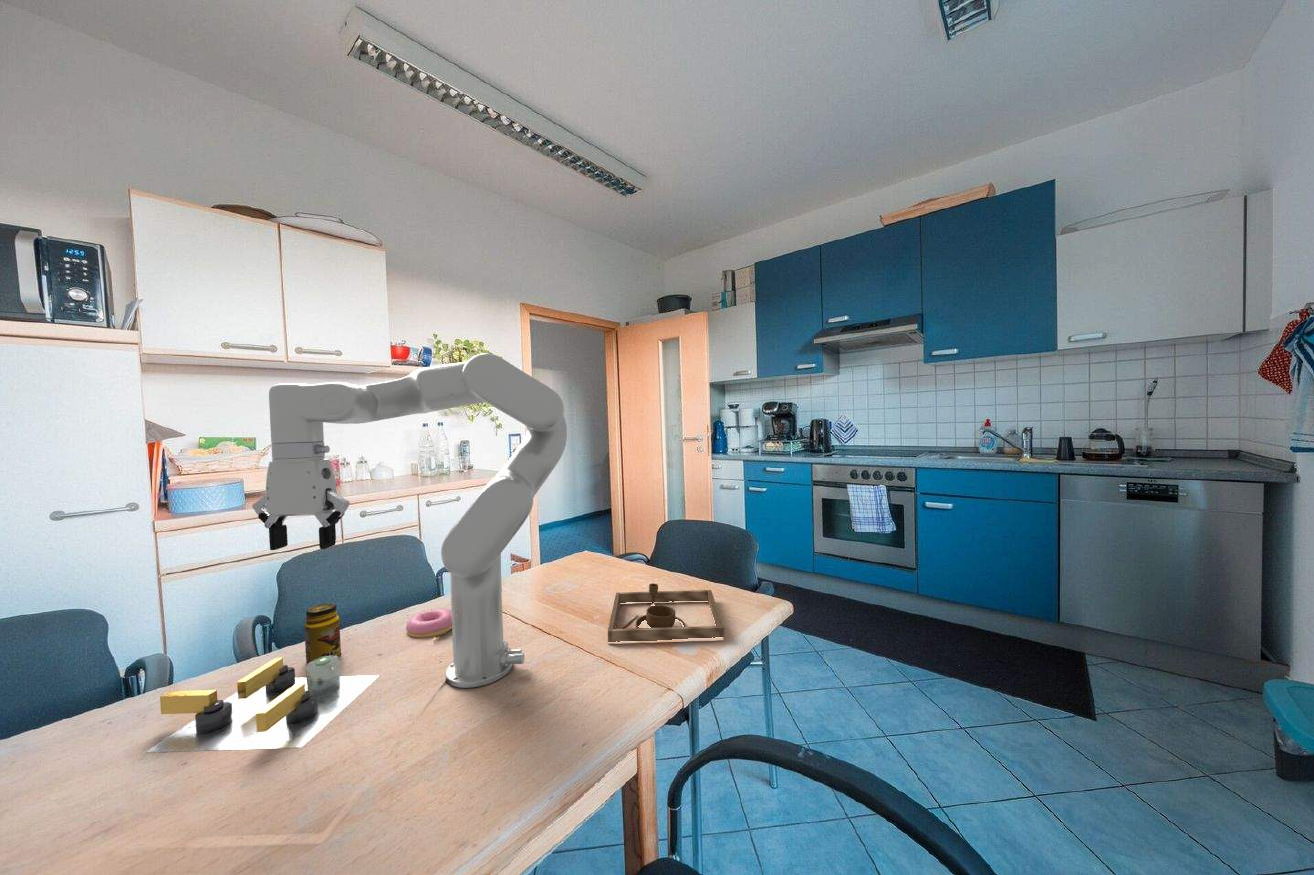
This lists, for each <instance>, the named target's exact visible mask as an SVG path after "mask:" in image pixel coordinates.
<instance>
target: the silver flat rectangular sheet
mask: <svg viewBox="0 0 1314 875" xmlns="http://www.w3.org/2000/svg"><path fill="white" fill-rule="evenodd" d="M305 670H306V676H305V677H295V683H294V684H293V685H292V686H294V685H295V684H296V683H305V691H310V693H316V694H317V695H318V711H317V712H316V713H315V714H314V715H313V716H311V717H309V718H307V719H305V720H302V721H299V722H293V723H290V722H287V721H286V716H285V717H284V718H283V719H282V720H280V721H279V722H278V723H277V724H275V725H274V726H273V727H272V728H270V729H269V730H268V731H267V732H257V726H256V713H257V712H258V711H259V710H261V709H262V708H264V707H265V706H266V705H268V704H269V703H270V702H272V701H273V700H274V699H276V698H277V697H279V696H280V695H281V694H283V693H284V692H285V691H287V690H288V689H289V688H291V687H292V686H290V687H289V688H287V689H284V690H281V691H278V692H271V693H270V692H266V690H265V686H264V687H263V688H261V689H260V690H258V691H257V692H255V693H254V694H252V695H251V696H249V697H248V698H247V699H238V691H237V692H235V693H233V694H231V696H229V697H227V698H225V699H224V700H223V701H224V702H230V703H232V714H233V719H232V721H231V722H230V723H228V724H227V725H225V726H224V727H222V728H219V729H217V730H214V731H211V732H207V733H197V732H196V722H195V719H194V720H192V721H190V722H189V723H188V724H186V725H185V726H183V727H181V728H180V729H178V730H177V731H175V732H174V733H172V734H170V735H169V736H167V737H166V738H164V739H162V740H161V741H159V743H157V744H155V745H153V746H152V747H151V748H149V749H148V750H146V751H144V753H173V752H175V753H176V752H177V753H179V752H180V753H181V752H204V751H205V752H206V751H207V752H210V751H235V750H236V751H237V750H239V751H240V750H241V751H243V750H270V749H271V750H272V749H300V748H303V747H305V746H306V744H308V742H310V741H311V740H312V739H313V738H314V737H315V736H316V735H317V734H318V733H319V732H321V731H322V729H324V728H325V727H326V726H327V725H328V724H329V723H330V722H331V721H332V720H333V719H334V718H335V717H337V716H338V715H339V714H340V713H341V712H342V711H343V710H344V709H345V708H346V707H347V706H348V705H350V703H352V702H353V701H354V700H355V699H356V698H357V697H358V696H359V695H361V693H362V692H363V691H365V690H366V689H367V688H368V687H369V686H370V685H371V684H372V683H373V682H374V681H375V680H377V678H379V677H380V676H381V675H379V674H377V675H374V674H373V675H351V676H350V675H349V676H347V675H344V676H341V673H340V672H341V670H340V657H338V656H323V657H320V658H318V659H316V660H313V661H312V662H310V663H309V664H307V663H306V667H305Z"/></svg>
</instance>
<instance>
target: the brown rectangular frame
mask: <svg viewBox="0 0 1314 875" xmlns="http://www.w3.org/2000/svg"><path fill="white" fill-rule="evenodd" d="M714 597H715V596H714V594H713V591H712V590H711V589H695V590H691V589H690V590H689V589H688V590H663V591H659V590H658V593H657V595H655V598H654V599H655V602H669V601H672V602H674V601H708V602H709V603H708V602H707V603H708V606H709V605H710V607H709V609H710V608H711V610H710V612H711V611H712V613H711V615H712V614H713V617H714V620H715V623H714V625H708V626H707V625H705V626H704V625H702V626H699V625H698V626H685V627H682V626H676V627H675V626H672V627H665V628H636V627H633V628H624V629H622V628H616V629H615V626H616V627H617V623H616V621H617V622H618V618H617V616H619V612H618V610H619V611H620V607H619V605H620V603H626V602H651V599H652V595H650V594H649V591H629V592H628V591H625V592H621V591H620V592H615V595H614V601H613V605H612V610H611V615H610V620H609V623H608V627H607V628H608V629H607V643H608V642H616V641H617V642H620V641H657V640H672V639H688V638H712V637H713V638H715V637H724V638H725V626H724V624H723V621H722V617H721V615H720V612H719V609H718V606H717V603H716V599H715V598H714ZM620 606H621V605H620ZM713 617H712V618H713ZM714 620H713V621H714ZM715 624H716V626H715Z"/></svg>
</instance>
